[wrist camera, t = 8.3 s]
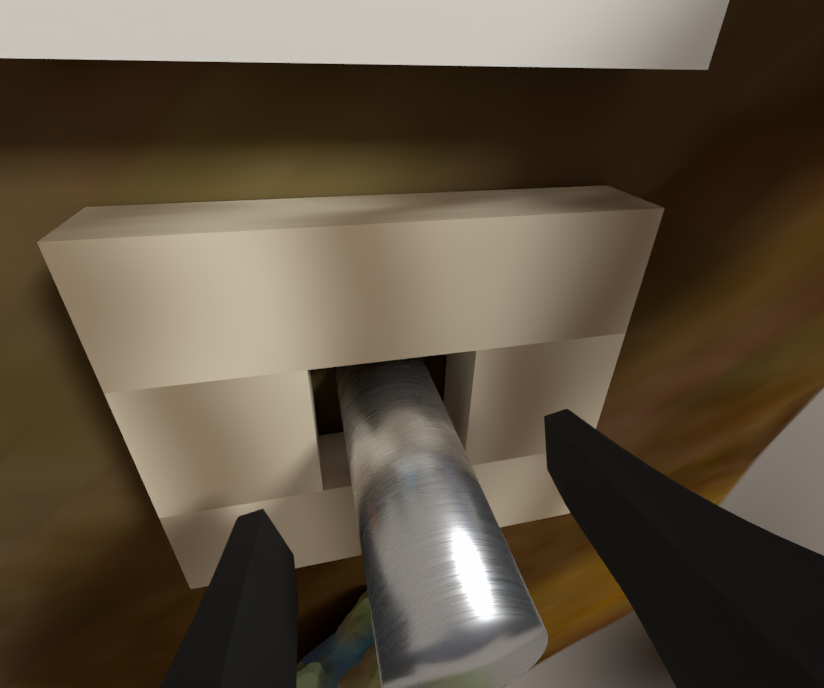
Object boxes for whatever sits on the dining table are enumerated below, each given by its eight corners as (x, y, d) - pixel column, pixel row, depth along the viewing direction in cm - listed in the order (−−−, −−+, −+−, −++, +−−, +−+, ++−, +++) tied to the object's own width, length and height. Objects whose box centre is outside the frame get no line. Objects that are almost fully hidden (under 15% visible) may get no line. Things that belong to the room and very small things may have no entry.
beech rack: (607, 185, 13) (664, 208, 11) (540, 466, 20) (569, 513, 18) (85, 207, 11) (37, 242, 9) (202, 525, 17) (190, 589, 15)
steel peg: (413, 321, 14) (543, 595, 7) (430, 391, 16) (550, 670, 9) (323, 349, 14) (360, 661, 7) (350, 417, 16) (403, 726, 9)
